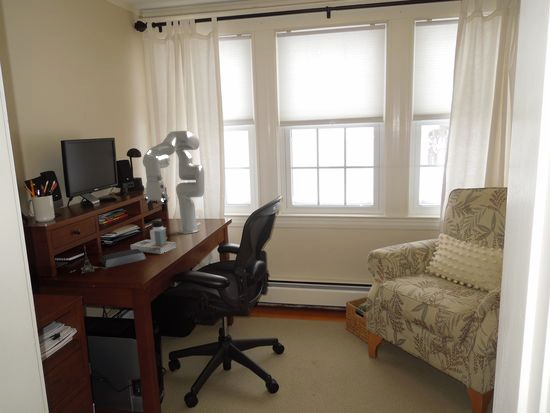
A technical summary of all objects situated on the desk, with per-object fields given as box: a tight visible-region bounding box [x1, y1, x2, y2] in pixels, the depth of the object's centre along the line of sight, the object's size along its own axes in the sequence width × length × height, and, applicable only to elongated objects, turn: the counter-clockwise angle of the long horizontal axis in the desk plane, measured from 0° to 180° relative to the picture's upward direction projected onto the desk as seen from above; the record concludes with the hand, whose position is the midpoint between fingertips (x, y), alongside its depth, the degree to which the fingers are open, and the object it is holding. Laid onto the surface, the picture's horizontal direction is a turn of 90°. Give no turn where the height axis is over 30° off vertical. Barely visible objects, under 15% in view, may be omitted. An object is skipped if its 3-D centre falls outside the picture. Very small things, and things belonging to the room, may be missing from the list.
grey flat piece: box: [130, 239, 177, 255], centre depth 221 cm, size 12×22×3 cm, turn 63°
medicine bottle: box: [149, 219, 168, 240], centre depth 238 cm, size 7×7×12 cm
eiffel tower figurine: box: [70, 245, 108, 274], centre depth 190 cm, size 15×10×13 cm
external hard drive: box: [100, 249, 147, 269], centre depth 203 cm, size 13×19×4 cm
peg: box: [154, 229, 167, 246], centre depth 218 cm, size 4×4×11 cm
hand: (157, 210), depth 215 cm, fingers open, 9 cm apart
